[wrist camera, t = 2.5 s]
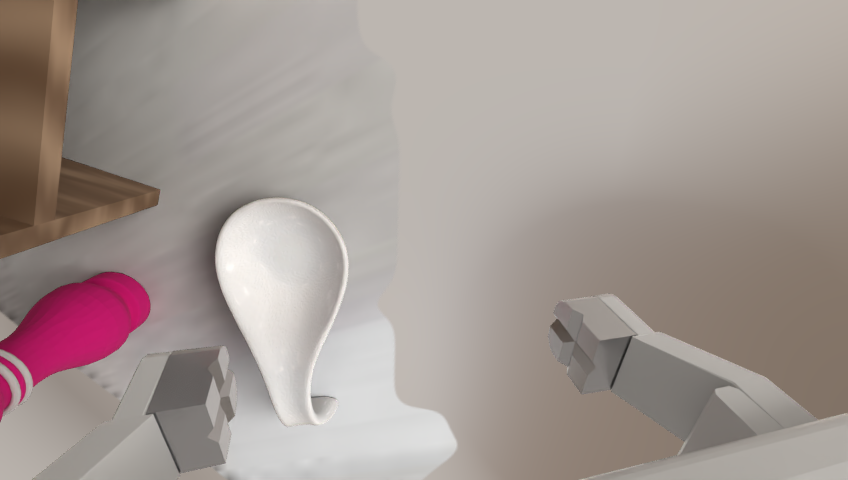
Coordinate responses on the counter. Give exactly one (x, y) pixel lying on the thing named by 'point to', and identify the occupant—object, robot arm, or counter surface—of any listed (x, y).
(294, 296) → the spoon rest
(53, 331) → the pepper mill
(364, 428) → the counter surface
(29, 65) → the walnut shelf
